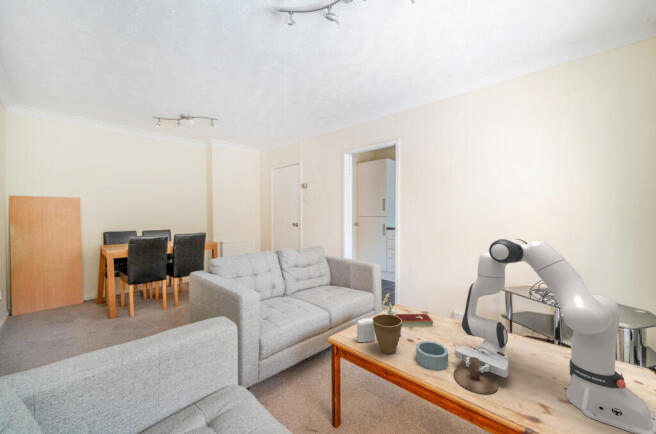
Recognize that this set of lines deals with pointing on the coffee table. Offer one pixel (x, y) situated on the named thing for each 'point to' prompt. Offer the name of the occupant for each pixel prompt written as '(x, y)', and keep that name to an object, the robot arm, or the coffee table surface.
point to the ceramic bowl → (432, 355)
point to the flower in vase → (390, 311)
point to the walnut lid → (475, 378)
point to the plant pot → (387, 332)
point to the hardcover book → (415, 320)
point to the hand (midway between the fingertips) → (473, 367)
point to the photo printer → (365, 330)
